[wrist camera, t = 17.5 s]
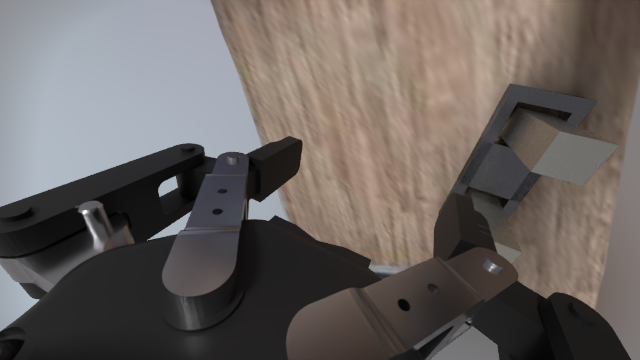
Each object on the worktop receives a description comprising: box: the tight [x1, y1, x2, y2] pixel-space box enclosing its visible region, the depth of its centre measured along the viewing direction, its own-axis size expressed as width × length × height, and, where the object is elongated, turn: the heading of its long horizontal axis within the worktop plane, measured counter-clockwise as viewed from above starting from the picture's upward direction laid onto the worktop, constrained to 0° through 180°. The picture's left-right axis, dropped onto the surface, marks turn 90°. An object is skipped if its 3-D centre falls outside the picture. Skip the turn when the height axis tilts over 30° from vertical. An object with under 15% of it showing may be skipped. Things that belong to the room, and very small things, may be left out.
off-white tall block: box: [464, 187, 522, 264], centre depth 35 cm, size 4×4×15 cm
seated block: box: [500, 107, 619, 186], centre depth 28 cm, size 4×4×15 cm
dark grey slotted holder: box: [439, 84, 597, 219], centre depth 37 cm, size 24×9×2 cm, turn 170°
